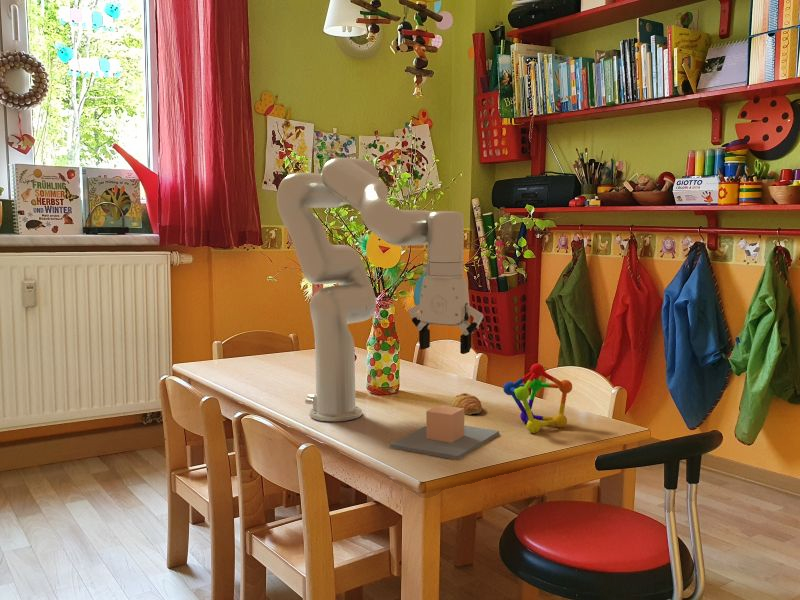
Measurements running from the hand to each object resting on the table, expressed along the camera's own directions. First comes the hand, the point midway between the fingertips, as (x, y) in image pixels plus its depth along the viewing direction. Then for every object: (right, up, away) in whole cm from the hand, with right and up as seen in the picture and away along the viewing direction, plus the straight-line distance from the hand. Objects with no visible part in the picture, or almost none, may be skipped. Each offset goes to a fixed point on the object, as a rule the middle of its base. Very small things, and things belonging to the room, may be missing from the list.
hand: (444, 350), depth 156 cm
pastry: (+8, -17, +28) cm, 33 cm away
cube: (0, -19, +2) cm, 19 cm away
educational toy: (+21, -18, +13) cm, 31 cm away
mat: (0, -20, +2) cm, 20 cm away
